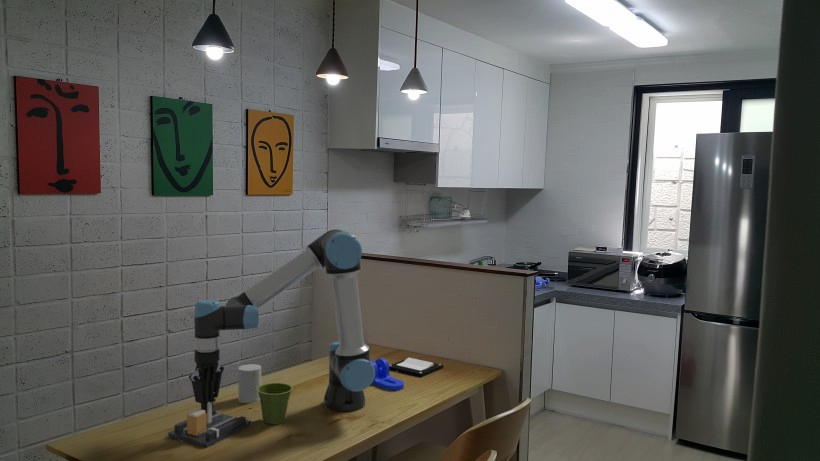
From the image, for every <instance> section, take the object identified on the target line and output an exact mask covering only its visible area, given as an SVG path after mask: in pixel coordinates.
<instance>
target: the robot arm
mask: <svg viewBox="0 0 820 461" xmlns="http://www.w3.org/2000/svg"><path fill="white" fill-rule="evenodd" d="M362 248H363V247H362V245H361V242H360V241H359V239H358V238H357V237H356V236H355V235H354V234H352V233H351V232H348V231H344V230H341V229H330V230H328V231H326V232H324V233H322V235H320V236H319V237H317V238H316V239H315V240H313V241H311V243H309V244H307V245H306V246H305V250H304V251H303V252H301V253H299V254H297V256H295V257H293V258H292V259H290V260H289V261H287V262H286V263H284V264H283V265H281V266H280V267H279V268H277V269H276V270H274V271H273V272H272V273H270V274H268V275H267V276H266V277H264V278H262V279H261V280H260V281H258V282H257V283H255V284H254V285H252V286H250V287H249V288H247V289H246V290H245V291H243V292H242V293H240V294H239V295H237V296H232V297H231V298H229V299H228V300H227V302H226V304H225V305H223V306H222V305H221V304H220V301H219V300H217V299H202V300H198V301H196V303H195V305H194V317H193V318H194V319H193V320H194V349H195V350H194V362H195V365H196V367H195V369H194V371H195V372H194V373H193V374H190V375H189V376H188V378H189V380H190V382H191V385H192V390H193V395H194V400H195V403H198V404H200V409H202V410H205V413H206V423H211V422H212V410H213V409H214V402H216V400H217V399H216V398H218V397H219V394H220V393H219V392H220V386H221V381H222V375H223V372H224V370H225V366H222V365H219V361H220V349H219V348H220V347H221V344H220V342H221V341H220V340H221V339H220V336H221V334H220V331H233V330H236V331H237V330H251V329H256V328H258V327H259V322H260V321H259V320H260V319H259V318H260V317H259V316H260V314H259V309H260V308H261V307H263V306H264V305H266V304H267V303H269V302H270V301H271V300H273V299H275V298H276V297H277V296H279V295H281V294H282V293H284V292H285V291H286V290H288V289H289V288H290V287H292V286H294V285H296V284H297V283H298V282H300V281H301V280H302V279H304V278H305V277H306V276H308V275H310V274H311V273H313V272H314V271H315V270H317V269H320V270H321V269H324V268H325V272H326V273H325V274H326V275H327V276H329V277H330V278H331V283H332V284H331V287H332V295H333V303H334V305H333V306H334V311H335V312H334V313H335V314H334V315H335V320H336V330H337V337H338V338H337V339H338V341H335V342H332V343H331V344H330V345H329V350H328V356H329V357H328V385H327V388H326V391H325V394H324V396H323V407H325V408H326V409H327V410H331V411H334V412H335V411H336V412H352V411H356V410H359V409H362V408H364V407H365V405H366V396H365V392H364V391H365V390H366V389H368V388H369V387H370V386H372V384H371V383H372V382H373V380H374V377H375V369H374V366H373V364H372V363H371V361H372V359H371V351H370V346H369V345H367V344H366V343H365V340H364V339H365V337H364V331H363V330H364V328H363V320H362V311H361V310H362V309H361V303H360V302H361V301H360V292H359V283H358V282H359V281H358V274H359V273H360V271H361V258H362V255H363V249H362Z"/></svg>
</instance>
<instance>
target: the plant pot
mask: <svg viewBox="0 0 820 461" xmlns="http://www.w3.org/2000/svg"><path fill="white" fill-rule="evenodd" d="M293 389H294V388H293V386H292V385H291V384H288V383H286V382H285V383H284V382H268V383H264V384H261V386H259V387H258V388H257V391H258V392H259V397H260V401H259V403H260V408H261V416H262V420H263V422H264V423H265V424H271V425H277V424H281V423H283V422H284V421H285V420H286V416H287V410H288V407H289V406H288V405H289V400H290V397H291V392H292V391H293Z"/></svg>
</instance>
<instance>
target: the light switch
mask: <svg viewBox="0 0 820 461" xmlns="http://www.w3.org/2000/svg"><path fill="white" fill-rule="evenodd" d="M389 369H390V370H389V371H391V370H394V371H393V372H396V371H398V372H397V373H400V372H401V374H404V373H405V374H404V375H408V376H413V377H416V378H417V377H418V378H423V377H425V376H426V377H427V376H429V375H431V374H432V373H435V372H438V371H440V370H442V369H444V364H441V363H437V362H436V363H435V362H433V361H427V360H422V359H418V358H413V357H407V358H405V359H402V360H399V361H397V362H394V363H391V364H389Z"/></svg>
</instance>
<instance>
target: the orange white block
mask: <svg viewBox="0 0 820 461" xmlns="http://www.w3.org/2000/svg"><path fill="white" fill-rule="evenodd" d="M186 420H187V434H191V435H195V436H198V433H200V432H202V431H204V430H206V413H205V410H202V409H201V408H198V409H194V410H192V411H191V412H188V413H187V414H186Z"/></svg>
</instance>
